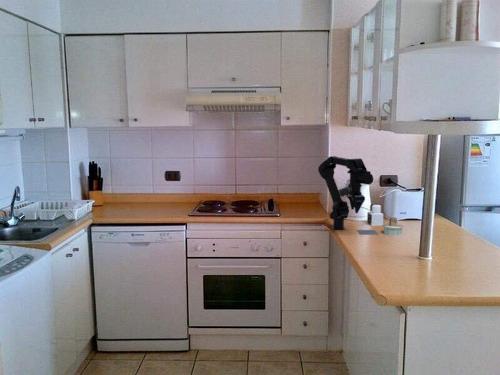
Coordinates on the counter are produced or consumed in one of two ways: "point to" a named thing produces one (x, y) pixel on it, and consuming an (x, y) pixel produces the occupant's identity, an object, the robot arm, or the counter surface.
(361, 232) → the mat
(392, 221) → the lid
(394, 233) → the bowl
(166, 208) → the counter surface
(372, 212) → the medicine bottle
